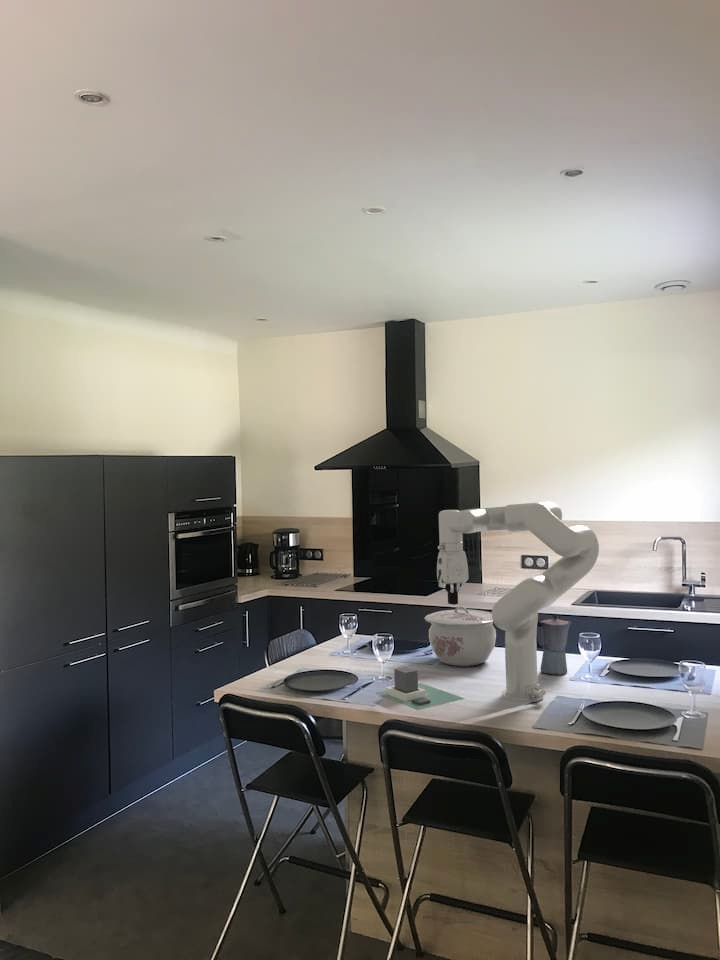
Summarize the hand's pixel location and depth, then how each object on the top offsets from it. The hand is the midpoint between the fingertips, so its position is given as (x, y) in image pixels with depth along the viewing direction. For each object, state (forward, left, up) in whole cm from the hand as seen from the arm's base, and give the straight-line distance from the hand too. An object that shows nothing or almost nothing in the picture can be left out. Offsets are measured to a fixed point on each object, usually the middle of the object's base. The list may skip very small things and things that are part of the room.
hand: (453, 603), depth 246 cm
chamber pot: (+23, -23, -27) cm, 43 cm away
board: (-4, +18, -27) cm, 33 cm away
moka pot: (-8, -37, -27) cm, 47 cm away
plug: (-1, +21, -26) cm, 33 cm away
